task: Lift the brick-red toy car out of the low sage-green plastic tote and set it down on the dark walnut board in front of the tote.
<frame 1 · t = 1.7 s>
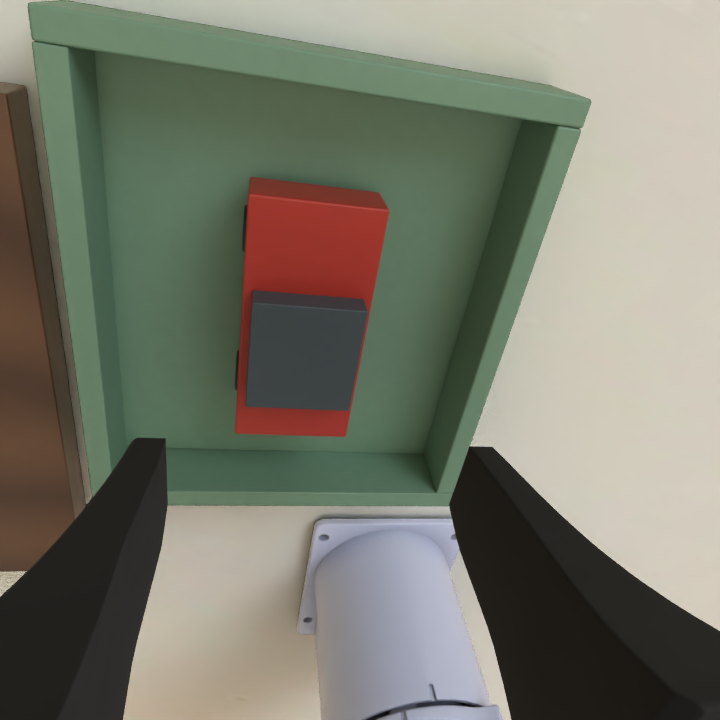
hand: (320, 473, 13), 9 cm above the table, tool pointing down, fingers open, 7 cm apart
tote: (300, 295, 21), on the table
toy car: (300, 299, 21), resting on tote
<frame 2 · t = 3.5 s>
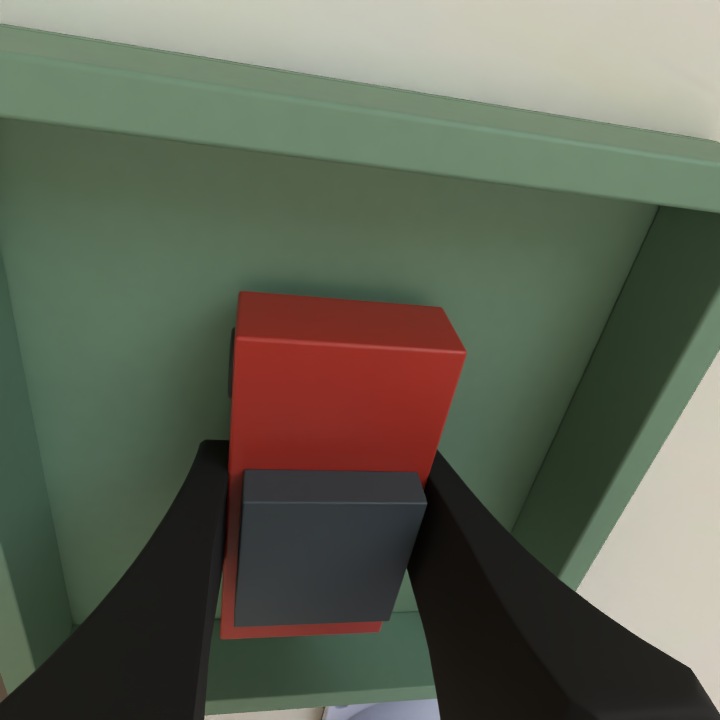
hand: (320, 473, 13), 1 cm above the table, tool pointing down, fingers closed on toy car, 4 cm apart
tote: (315, 434, 14), on the table
toy car: (315, 442, 14), resting on tote, touching gripper
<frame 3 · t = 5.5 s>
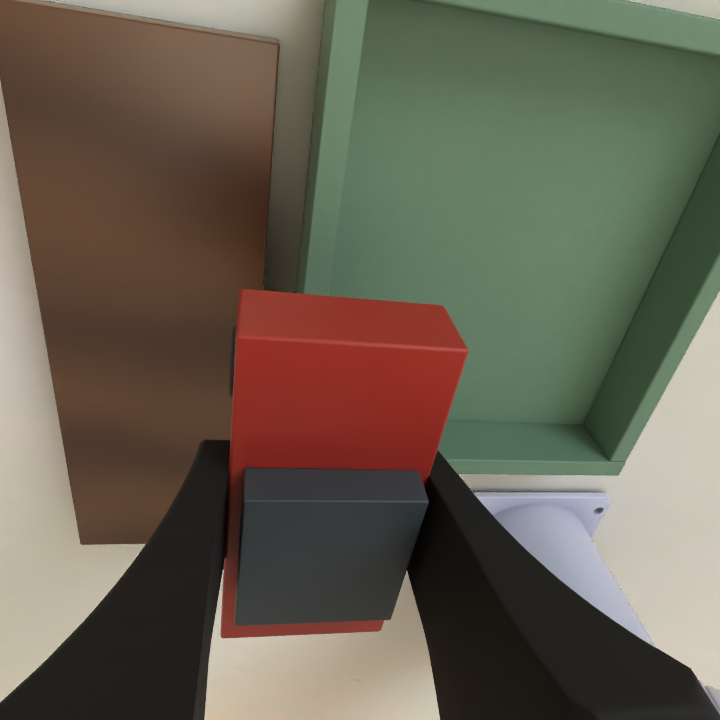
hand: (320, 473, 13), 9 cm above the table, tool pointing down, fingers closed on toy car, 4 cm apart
tote: (495, 259, 21), on the table
board: (162, 332, 21), on the table
toy car: (316, 441, 14), point 8 cm above the table, touching gripper
when the fingers open (3 cm above the table, at t = 7.9 s): toy car stays where it is, resting on board.
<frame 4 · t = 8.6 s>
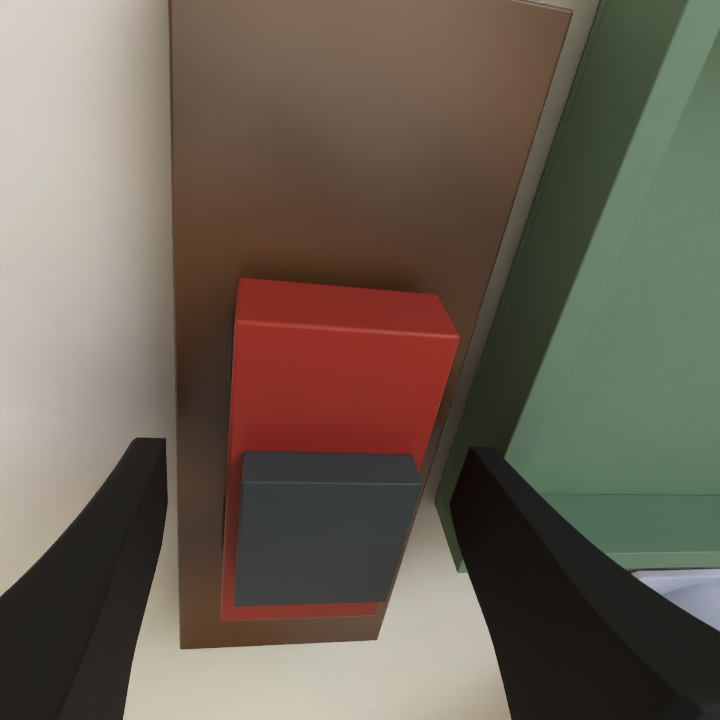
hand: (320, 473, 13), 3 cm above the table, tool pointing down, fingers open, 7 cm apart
board: (311, 396, 16), on the table
toy car: (313, 429, 15), point 1 cm above the table, touching board
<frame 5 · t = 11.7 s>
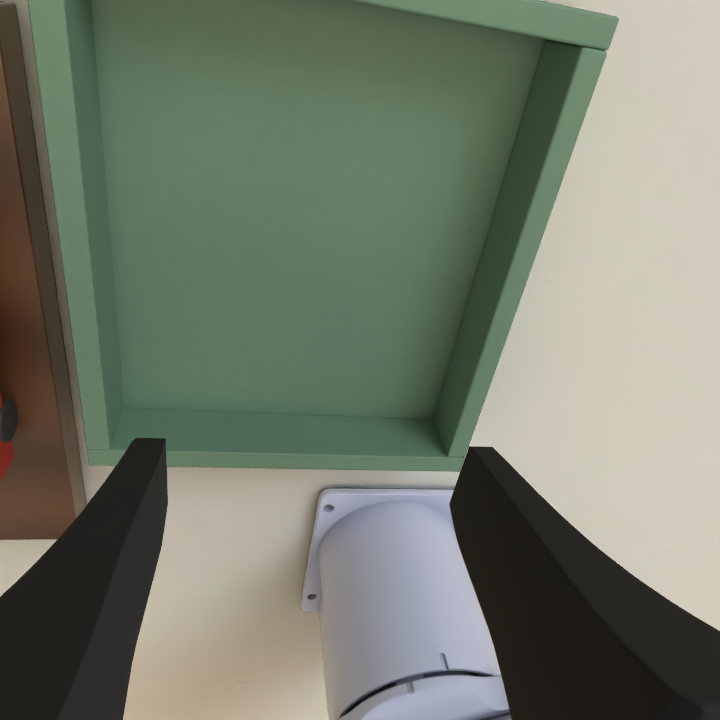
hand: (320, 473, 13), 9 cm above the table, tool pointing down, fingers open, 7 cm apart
tote: (305, 244, 20), on the table
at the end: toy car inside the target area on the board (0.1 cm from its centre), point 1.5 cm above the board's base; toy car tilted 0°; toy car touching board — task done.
